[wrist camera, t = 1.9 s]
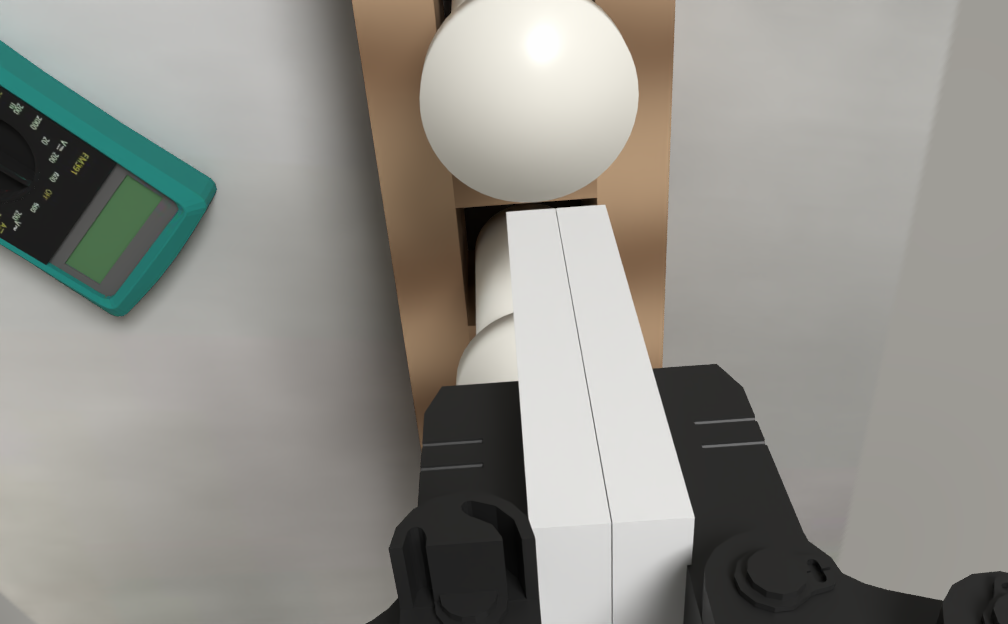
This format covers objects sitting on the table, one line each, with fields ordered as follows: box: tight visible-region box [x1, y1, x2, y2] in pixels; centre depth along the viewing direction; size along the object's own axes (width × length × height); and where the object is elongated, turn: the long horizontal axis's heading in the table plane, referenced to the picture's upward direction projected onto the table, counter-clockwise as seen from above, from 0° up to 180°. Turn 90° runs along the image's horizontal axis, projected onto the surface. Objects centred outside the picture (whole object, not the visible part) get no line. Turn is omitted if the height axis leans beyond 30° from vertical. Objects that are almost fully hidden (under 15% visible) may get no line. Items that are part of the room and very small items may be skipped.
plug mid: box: [456, 203, 556, 385], centre depth 30 cm, size 5×5×9 cm
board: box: [352, 0, 675, 453], centre depth 35 cm, size 30×10×6 cm, turn 4°
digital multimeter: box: [0, 41, 217, 316], centre depth 35 cm, size 7×15×3 cm, turn 49°
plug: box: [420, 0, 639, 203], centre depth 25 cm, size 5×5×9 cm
